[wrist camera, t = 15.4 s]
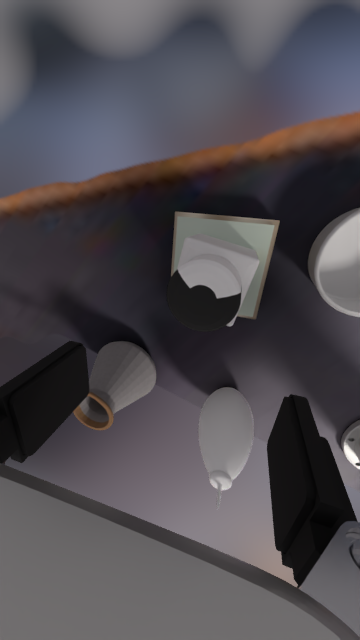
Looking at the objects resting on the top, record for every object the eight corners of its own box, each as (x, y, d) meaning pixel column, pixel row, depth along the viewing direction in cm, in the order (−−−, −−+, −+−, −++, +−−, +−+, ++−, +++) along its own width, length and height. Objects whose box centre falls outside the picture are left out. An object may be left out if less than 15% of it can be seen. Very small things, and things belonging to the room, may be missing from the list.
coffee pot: (163, 341, 39) (121, 404, 26) (159, 393, 44) (122, 467, 31) (57, 318, 43) (-27, 361, 30) (64, 367, 48) (-5, 423, 35)
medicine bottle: (234, 305, 29) (228, 353, 19) (183, 287, 30) (149, 324, 20) (257, 250, 26) (265, 271, 16) (198, 232, 27) (168, 240, 16)
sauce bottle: (260, 404, 39) (270, 532, 23) (220, 415, 42) (204, 534, 26) (238, 369, 37) (233, 480, 21) (198, 383, 41) (168, 488, 25)
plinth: (276, 220, 28) (280, 220, 24) (254, 310, 33) (255, 321, 29) (181, 212, 30) (173, 211, 27) (175, 297, 35) (167, 305, 32)
